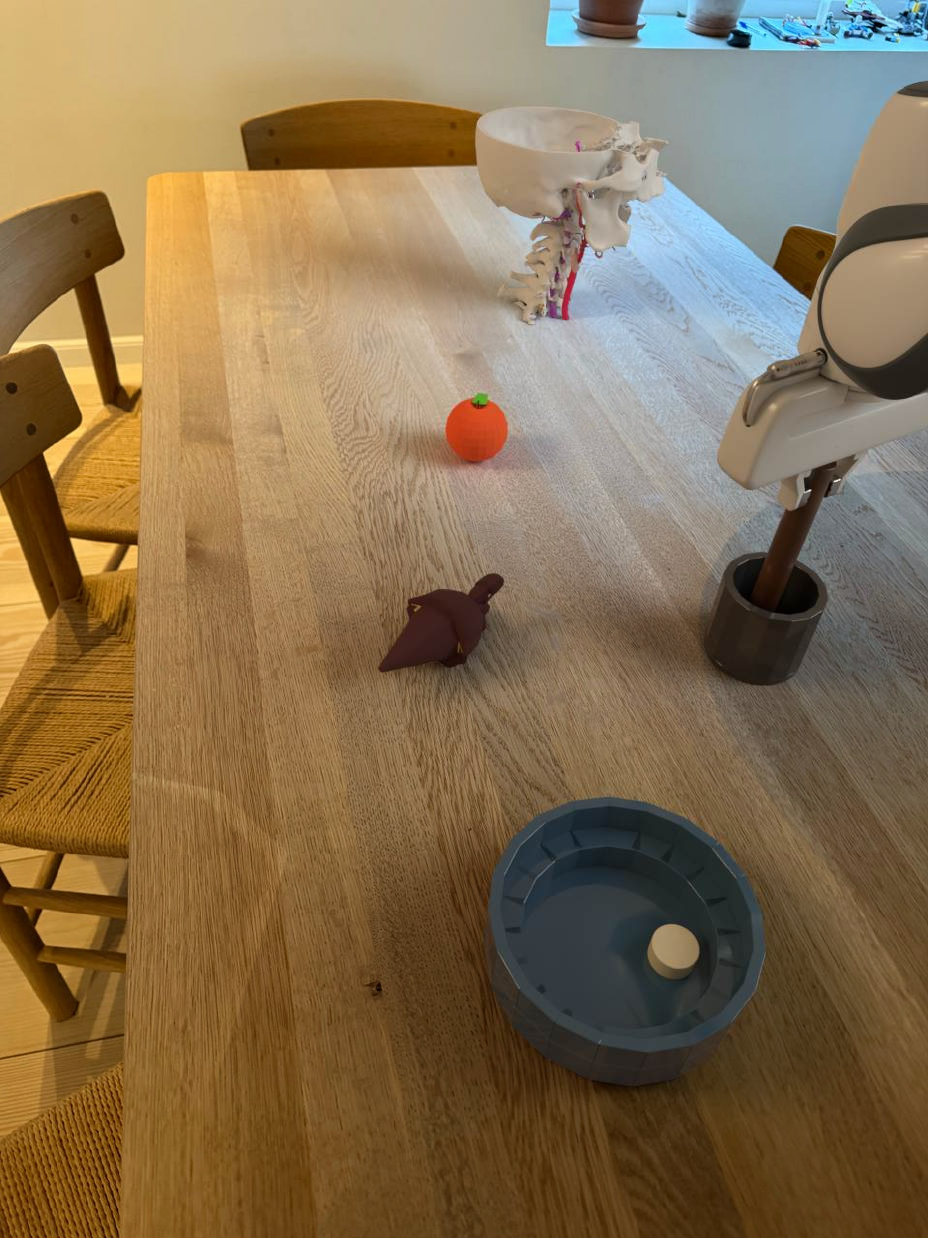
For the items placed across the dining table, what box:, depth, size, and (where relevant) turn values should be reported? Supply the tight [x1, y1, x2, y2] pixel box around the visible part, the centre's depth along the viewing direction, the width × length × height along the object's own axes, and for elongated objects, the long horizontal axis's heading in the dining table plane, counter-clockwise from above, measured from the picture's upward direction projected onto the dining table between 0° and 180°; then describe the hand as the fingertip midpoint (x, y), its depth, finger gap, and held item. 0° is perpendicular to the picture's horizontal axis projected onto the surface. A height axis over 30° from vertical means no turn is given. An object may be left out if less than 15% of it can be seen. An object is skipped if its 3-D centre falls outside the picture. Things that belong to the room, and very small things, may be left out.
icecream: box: [377, 572, 505, 673], centre depth 83 cm, size 7×7×15 cm
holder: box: [703, 551, 829, 686], centre depth 85 cm, size 9×9×8 cm
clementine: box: [444, 392, 509, 462], centre depth 106 cm, size 8×7×7 cm
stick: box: [748, 461, 837, 613], centre depth 80 cm, size 2×2×20 cm
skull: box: [474, 105, 669, 325], centre depth 129 cm, size 25×19×23 cm
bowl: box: [482, 796, 767, 1087], centre depth 63 cm, size 18×18×6 cm
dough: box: [648, 924, 700, 979], centre depth 64 cm, size 3×3×2 cm
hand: (808, 497), depth 76 cm, fingers closed on stick, 2 cm apart
